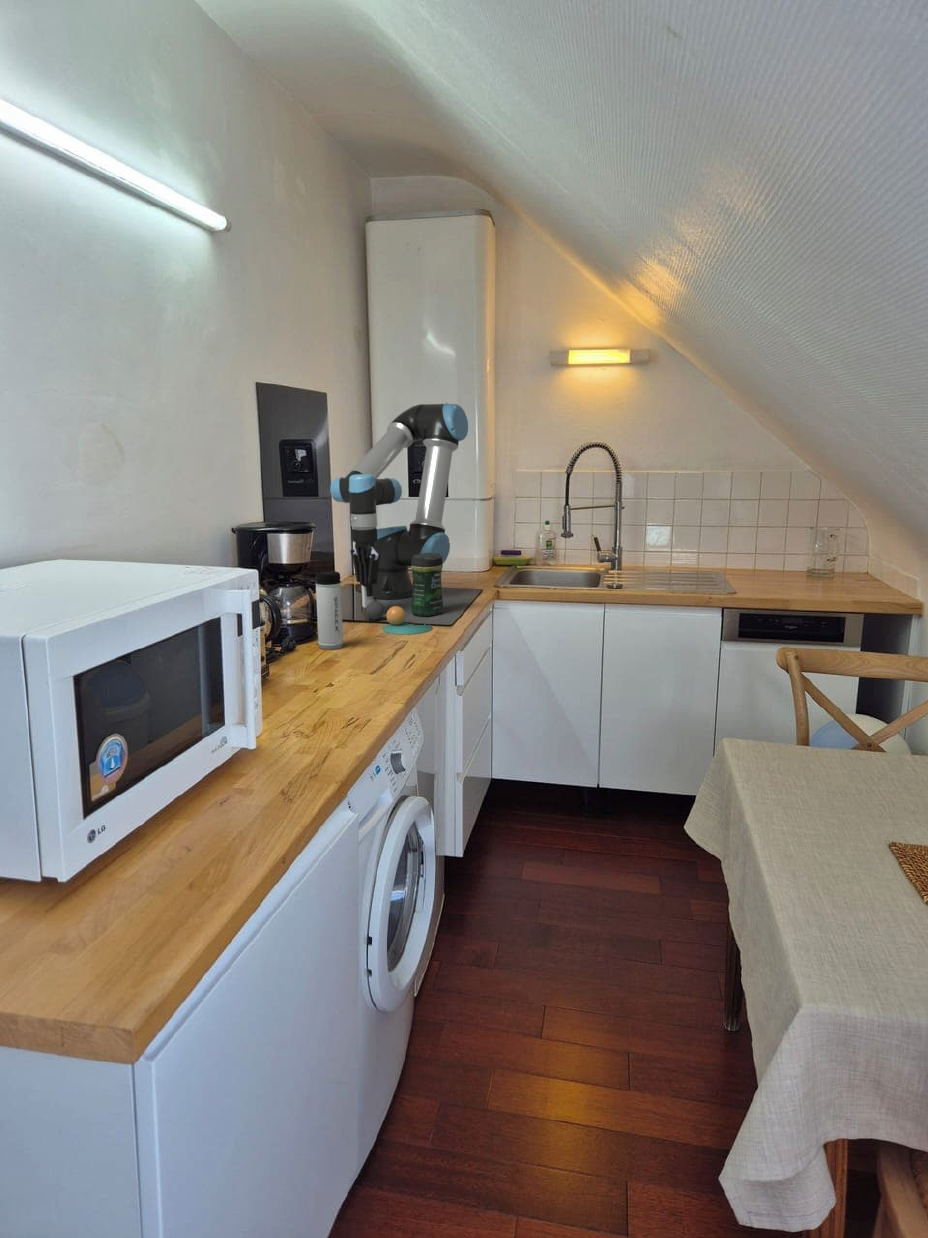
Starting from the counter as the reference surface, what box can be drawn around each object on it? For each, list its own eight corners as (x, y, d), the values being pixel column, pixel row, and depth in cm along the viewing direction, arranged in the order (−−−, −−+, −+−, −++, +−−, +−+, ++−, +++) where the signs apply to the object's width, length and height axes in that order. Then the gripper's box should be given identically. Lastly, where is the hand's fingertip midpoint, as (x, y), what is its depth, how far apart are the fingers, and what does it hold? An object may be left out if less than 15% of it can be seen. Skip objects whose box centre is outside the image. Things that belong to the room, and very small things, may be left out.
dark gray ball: (385, 599, 240) (388, 617, 240) (378, 599, 245) (381, 618, 245) (367, 602, 237) (371, 621, 238) (361, 603, 242) (364, 621, 243)
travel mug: (318, 644, 214) (314, 568, 210) (344, 643, 215) (341, 567, 210) (316, 650, 208) (312, 572, 204) (342, 649, 208) (339, 571, 204)
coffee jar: (427, 618, 243) (426, 556, 239) (407, 615, 248) (405, 553, 244) (448, 612, 251) (447, 552, 247) (428, 609, 256) (427, 550, 252)
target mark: (410, 620, 240) (410, 620, 240) (442, 628, 231) (442, 627, 230) (372, 628, 231) (372, 627, 231) (404, 637, 221) (404, 636, 221)
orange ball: (397, 602, 237) (408, 606, 233) (399, 620, 239) (410, 624, 235) (381, 606, 234) (392, 610, 230) (383, 625, 236) (394, 629, 231)
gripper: (341, 527, 244) (345, 605, 249) (365, 531, 234) (368, 612, 239) (363, 524, 248) (366, 601, 254) (387, 528, 238) (390, 608, 244)
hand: (367, 606), depth 246 cm, fingers closed
